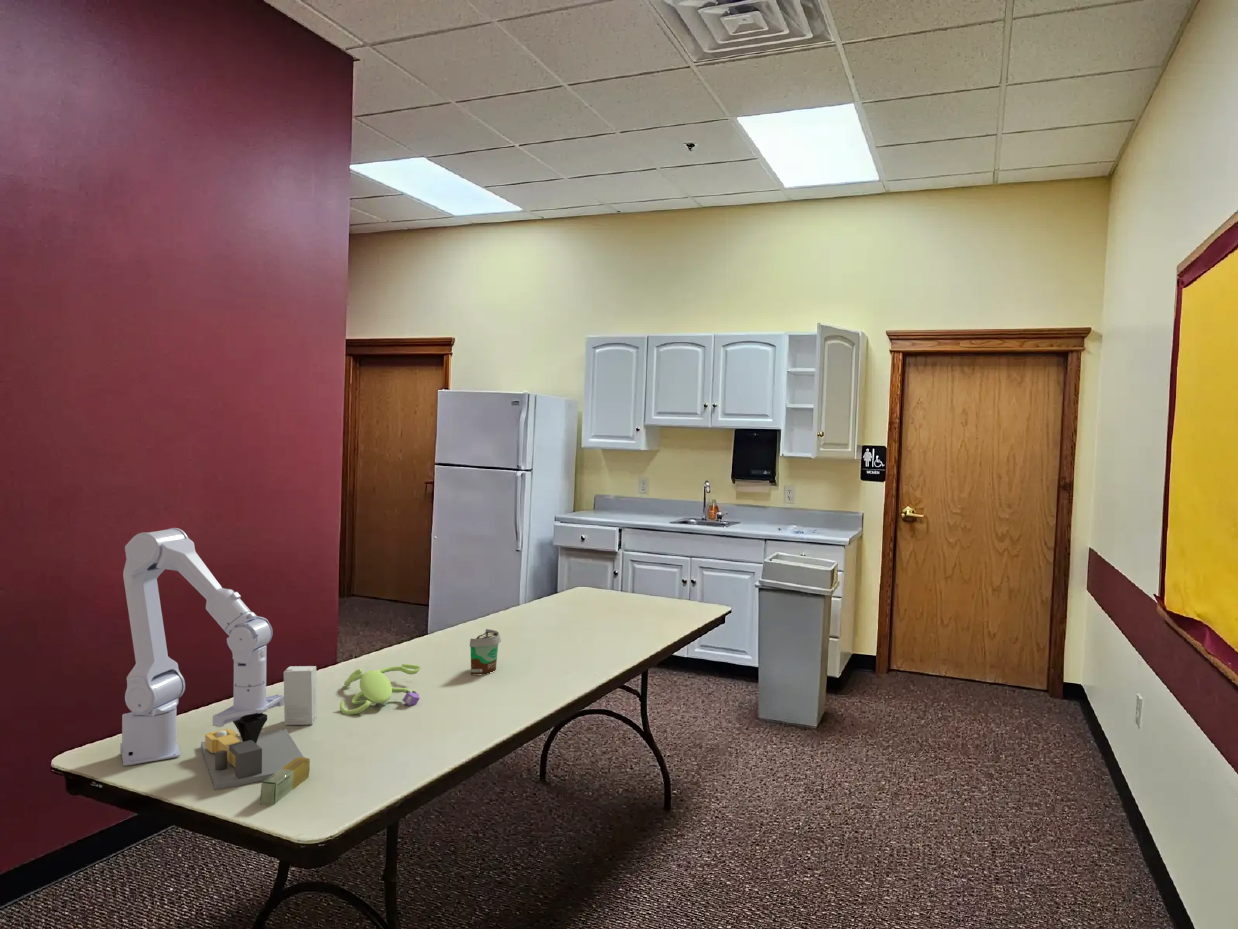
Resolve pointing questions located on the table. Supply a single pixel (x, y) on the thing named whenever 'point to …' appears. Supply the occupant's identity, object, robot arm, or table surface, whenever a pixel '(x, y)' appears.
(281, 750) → the base
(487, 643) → the food container
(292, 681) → the skincare box
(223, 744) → the link
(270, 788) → the medication box
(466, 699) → the table surface
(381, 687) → the figurine
